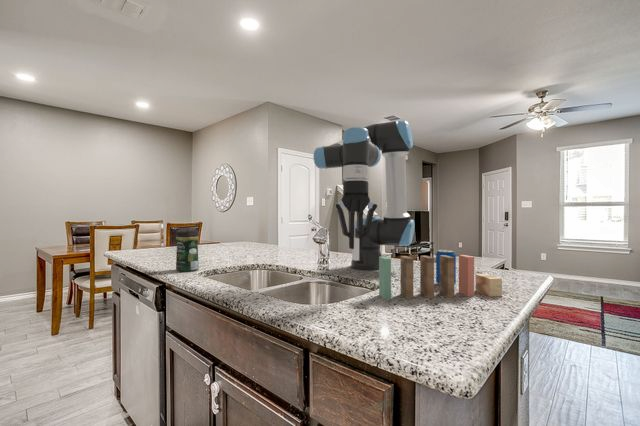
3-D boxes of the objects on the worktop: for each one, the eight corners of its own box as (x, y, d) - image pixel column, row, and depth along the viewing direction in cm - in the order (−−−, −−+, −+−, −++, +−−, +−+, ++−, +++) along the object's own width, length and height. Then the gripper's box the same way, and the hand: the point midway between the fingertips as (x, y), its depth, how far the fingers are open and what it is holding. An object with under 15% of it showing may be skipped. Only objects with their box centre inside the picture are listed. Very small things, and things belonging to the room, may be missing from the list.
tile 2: (400, 294, 98) (400, 256, 98) (406, 294, 98) (406, 256, 98) (407, 298, 93) (407, 258, 93) (413, 298, 93) (413, 258, 93)
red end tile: (458, 292, 100) (458, 254, 100) (464, 292, 100) (464, 254, 100) (468, 296, 95) (468, 257, 95) (474, 296, 96) (474, 257, 95)
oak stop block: (475, 290, 102) (475, 274, 102) (486, 290, 103) (486, 273, 103) (489, 296, 95) (489, 278, 95) (501, 296, 96) (501, 278, 96)
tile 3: (420, 293, 99) (420, 255, 98) (426, 293, 99) (426, 255, 99) (427, 298, 94) (427, 258, 94) (434, 297, 94) (434, 257, 94)
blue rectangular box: (452, 282, 114) (452, 249, 114) (458, 286, 107) (458, 252, 107) (434, 282, 114) (434, 249, 114) (439, 286, 108) (439, 251, 108)
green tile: (379, 295, 97) (379, 256, 97) (385, 294, 97) (385, 256, 97) (384, 299, 92) (384, 259, 92) (391, 299, 92) (390, 258, 92)
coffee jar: (172, 270, 137) (172, 228, 137) (189, 267, 144) (189, 227, 144) (184, 273, 132) (184, 229, 132) (201, 270, 138) (201, 228, 138)
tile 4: (439, 292, 99) (439, 255, 99) (445, 292, 100) (445, 255, 100) (448, 297, 94) (448, 257, 94) (454, 297, 95) (454, 257, 95)
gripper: (336, 179, 89) (336, 262, 89) (380, 179, 90) (380, 261, 90) (332, 181, 96) (332, 258, 96) (373, 182, 98) (373, 257, 98)
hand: (355, 259), depth 93 cm, fingers closed
